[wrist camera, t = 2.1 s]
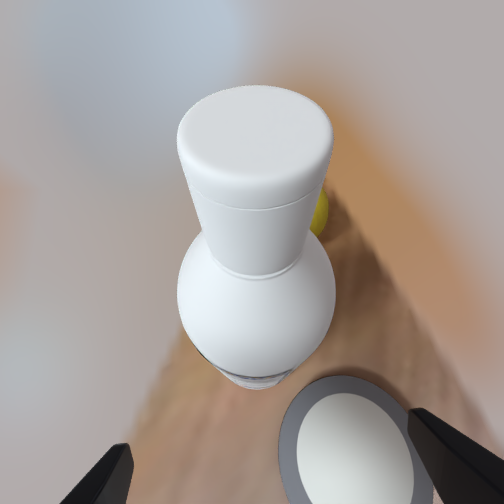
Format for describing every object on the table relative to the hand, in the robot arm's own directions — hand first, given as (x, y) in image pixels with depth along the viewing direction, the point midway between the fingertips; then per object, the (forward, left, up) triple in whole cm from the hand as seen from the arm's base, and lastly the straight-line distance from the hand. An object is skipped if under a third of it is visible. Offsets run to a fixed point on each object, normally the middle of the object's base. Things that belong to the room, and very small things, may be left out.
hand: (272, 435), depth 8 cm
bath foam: (+5, +1, -13) cm, 14 cm away
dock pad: (-2, -6, -13) cm, 14 cm away
